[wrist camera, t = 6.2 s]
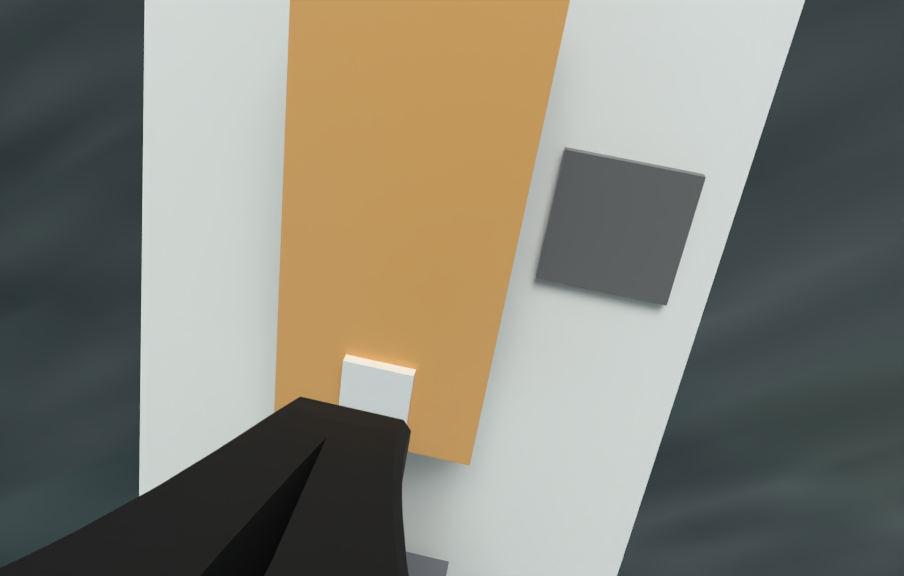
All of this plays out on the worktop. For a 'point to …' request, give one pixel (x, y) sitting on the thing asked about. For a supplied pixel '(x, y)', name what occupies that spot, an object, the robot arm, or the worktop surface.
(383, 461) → the robot arm
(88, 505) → the worktop surface
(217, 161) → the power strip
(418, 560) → the grey block
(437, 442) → the orange flat bar
